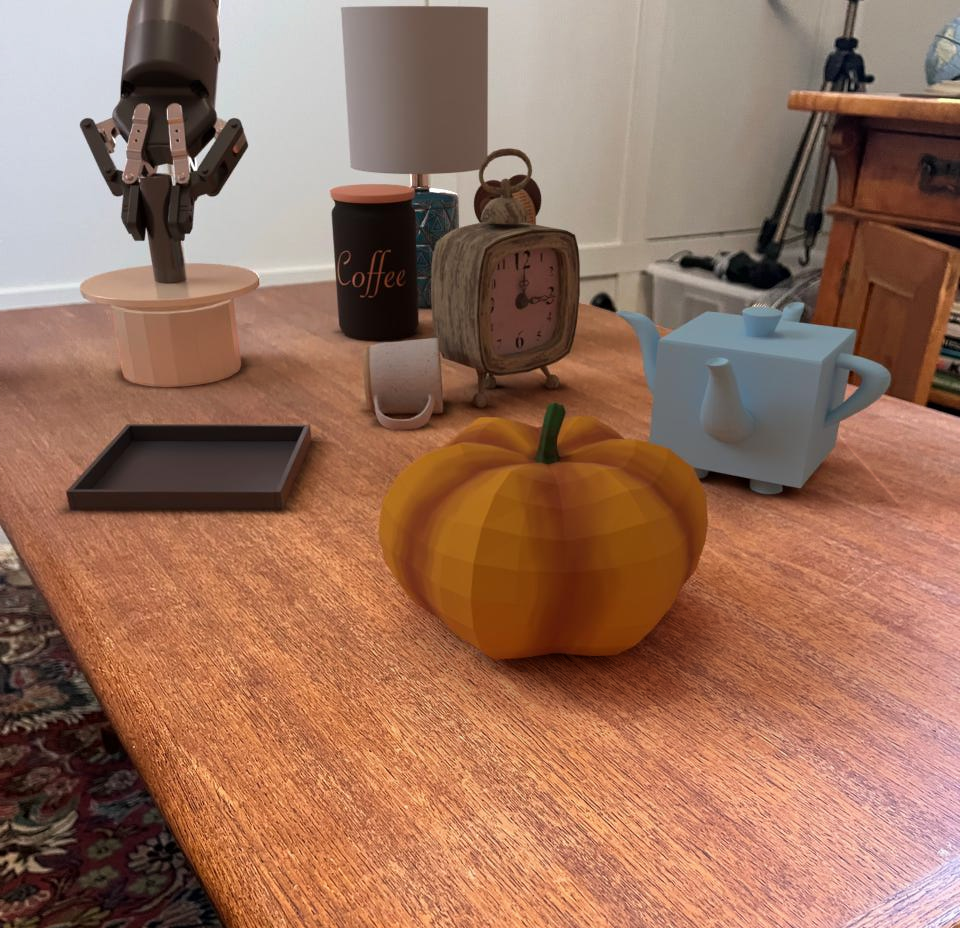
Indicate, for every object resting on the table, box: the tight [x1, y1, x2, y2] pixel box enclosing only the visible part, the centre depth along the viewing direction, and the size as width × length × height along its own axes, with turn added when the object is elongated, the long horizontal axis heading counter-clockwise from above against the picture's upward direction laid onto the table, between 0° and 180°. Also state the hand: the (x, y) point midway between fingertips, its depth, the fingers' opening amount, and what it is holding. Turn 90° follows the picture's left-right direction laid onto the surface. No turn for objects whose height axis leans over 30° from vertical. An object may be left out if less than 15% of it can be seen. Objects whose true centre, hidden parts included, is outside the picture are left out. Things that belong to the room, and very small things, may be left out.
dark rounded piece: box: [473, 173, 542, 225], centre depth 127 cm, size 15×15×20 cm
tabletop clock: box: [431, 147, 581, 409], centre depth 108 cm, size 14×9×25 cm, turn 129°
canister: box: [109, 298, 242, 388], centre depth 119 cm, size 14×14×8 cm
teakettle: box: [615, 301, 892, 495], centre depth 91 cm, size 19×19×15 cm
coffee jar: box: [329, 183, 420, 342], centre depth 132 cm, size 11×11×18 cm
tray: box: [65, 423, 312, 512], centre depth 93 cm, size 18×17×2 cm
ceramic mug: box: [362, 337, 444, 431], centre depth 105 cm, size 11×8×8 cm
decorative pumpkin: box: [377, 401, 709, 660], centre depth 67 cm, size 20×22×15 cm
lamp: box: [340, 5, 489, 309], centre depth 142 cm, size 19×19×38 cm
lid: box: [79, 172, 261, 310], centre depth 82 cm, size 14×14×9 cm
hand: (156, 234), depth 80 cm, fingers closed on lid, 2 cm apart
